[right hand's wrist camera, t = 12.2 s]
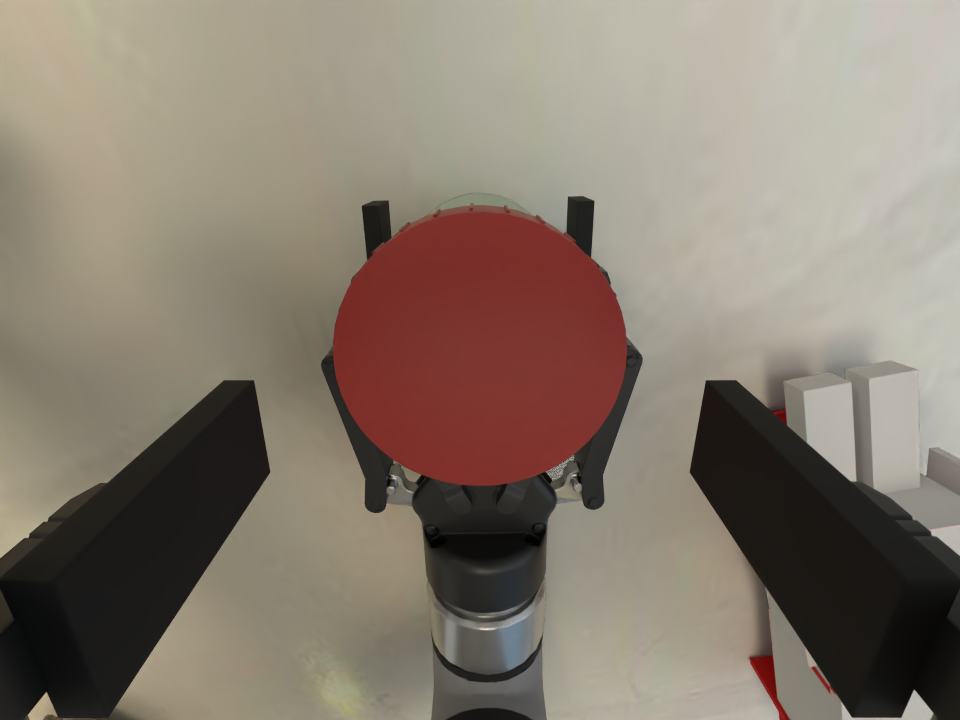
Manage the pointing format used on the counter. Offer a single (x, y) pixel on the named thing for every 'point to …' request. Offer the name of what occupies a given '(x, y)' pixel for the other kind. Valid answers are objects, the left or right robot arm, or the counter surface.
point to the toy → (879, 464)
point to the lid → (479, 346)
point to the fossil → (52, 718)
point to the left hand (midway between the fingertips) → (477, 201)
